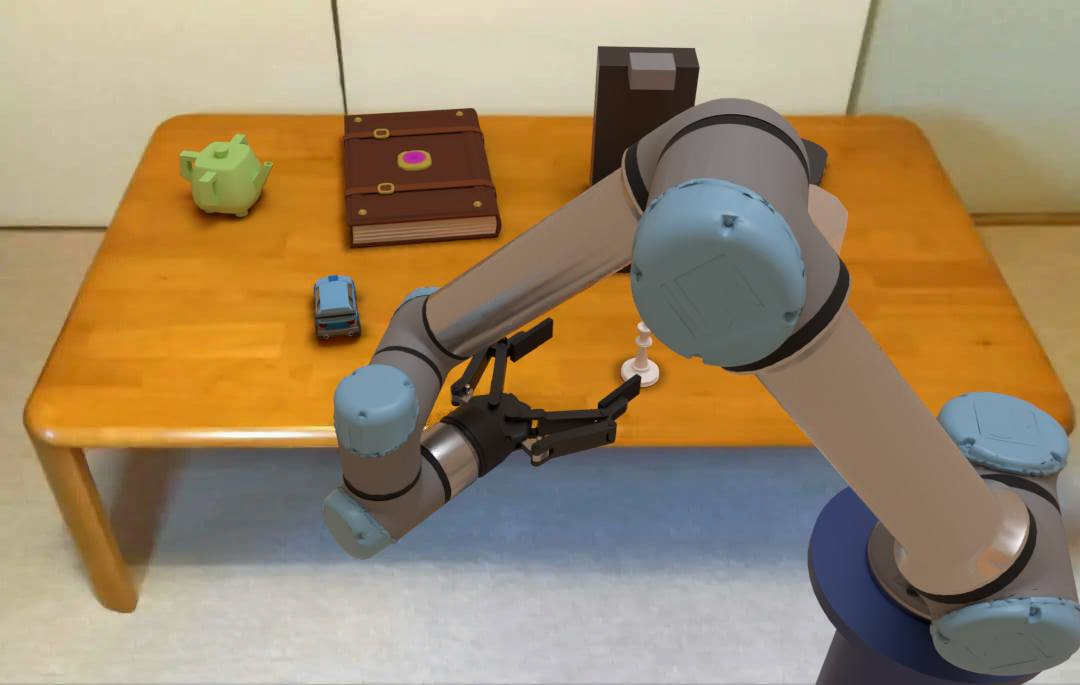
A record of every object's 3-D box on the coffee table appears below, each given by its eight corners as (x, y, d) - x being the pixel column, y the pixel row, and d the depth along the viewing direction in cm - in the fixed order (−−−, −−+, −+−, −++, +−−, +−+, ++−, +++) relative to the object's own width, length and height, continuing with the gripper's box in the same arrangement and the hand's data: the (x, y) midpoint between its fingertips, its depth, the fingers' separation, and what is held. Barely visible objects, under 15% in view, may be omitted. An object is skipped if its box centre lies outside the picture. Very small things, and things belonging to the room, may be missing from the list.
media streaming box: (742, 140, 174) (745, 124, 172) (828, 157, 170) (832, 142, 168) (722, 183, 164) (725, 167, 162) (813, 203, 160) (817, 187, 158)
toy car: (356, 288, 142) (352, 255, 138) (363, 345, 133) (358, 311, 129) (313, 293, 141) (308, 260, 137) (317, 350, 132) (311, 317, 128)
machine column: (684, 229, 154) (706, 70, 137) (591, 227, 154) (601, 68, 136) (676, 189, 162) (696, 34, 145) (589, 187, 162) (598, 32, 145)
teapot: (210, 233, 151) (197, 176, 144) (181, 197, 158) (167, 141, 151) (284, 208, 156) (274, 152, 150) (253, 174, 163) (242, 119, 156)
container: (693, 302, 141) (710, 192, 129) (780, 277, 146) (804, 169, 134) (750, 367, 131) (774, 255, 119) (841, 338, 136) (873, 228, 124)
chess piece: (653, 359, 132) (661, 299, 125) (663, 385, 128) (672, 325, 122) (616, 363, 131) (622, 303, 125) (625, 389, 128) (632, 329, 121)
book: (348, 248, 149) (345, 220, 145) (345, 138, 172) (342, 111, 168) (503, 237, 152) (502, 209, 148) (479, 129, 175) (478, 103, 171)
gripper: (384, 414, 115) (516, 328, 127) (542, 540, 103) (673, 432, 114) (379, 366, 110) (517, 281, 122) (544, 492, 98) (681, 385, 109)
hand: (593, 354), depth 118 cm, fingers open, 13 cm apart
